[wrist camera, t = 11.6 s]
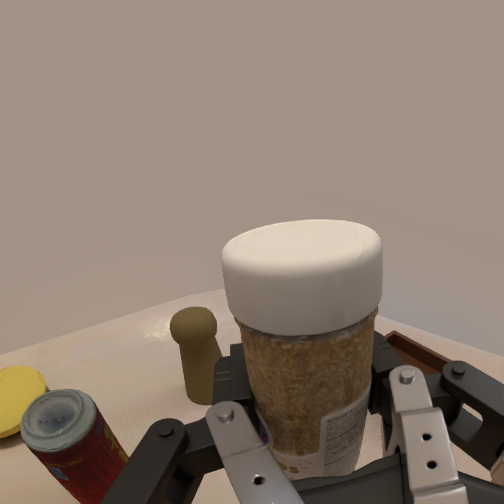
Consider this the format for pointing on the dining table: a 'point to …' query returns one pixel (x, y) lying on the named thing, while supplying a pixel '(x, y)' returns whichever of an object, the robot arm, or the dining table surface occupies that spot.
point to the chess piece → (197, 351)
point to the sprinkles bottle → (307, 336)
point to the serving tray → (416, 354)
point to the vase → (17, 395)
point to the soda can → (73, 443)
